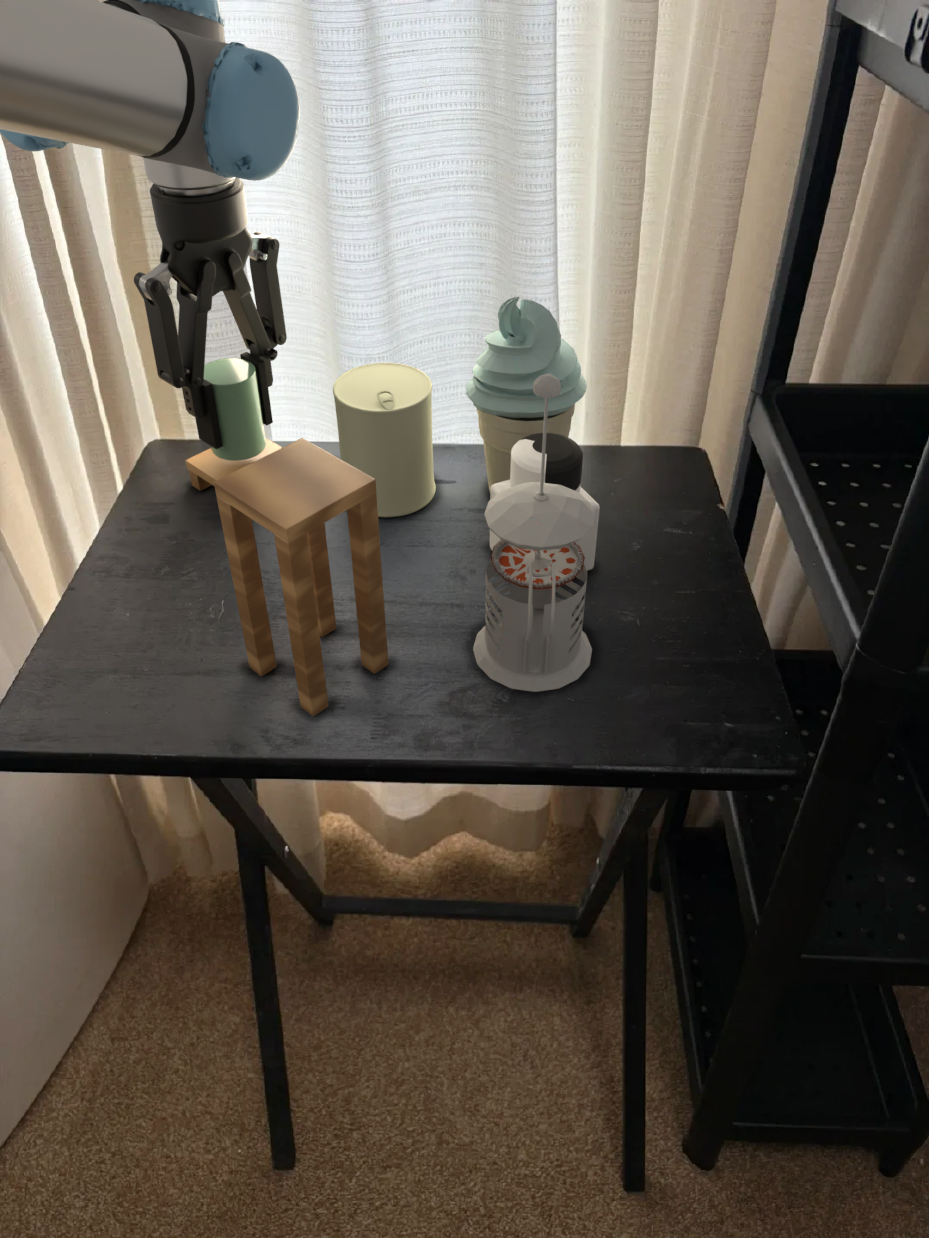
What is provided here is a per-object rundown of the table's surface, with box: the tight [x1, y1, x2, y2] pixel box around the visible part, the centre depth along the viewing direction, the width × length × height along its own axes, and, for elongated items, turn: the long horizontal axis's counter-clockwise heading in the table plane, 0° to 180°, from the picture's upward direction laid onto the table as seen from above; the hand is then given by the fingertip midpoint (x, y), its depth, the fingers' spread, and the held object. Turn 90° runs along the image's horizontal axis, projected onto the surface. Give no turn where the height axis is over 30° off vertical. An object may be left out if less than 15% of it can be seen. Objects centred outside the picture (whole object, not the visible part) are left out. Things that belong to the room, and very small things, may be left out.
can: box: [332, 362, 437, 518], centre depth 99 cm, size 9×9×12 cm
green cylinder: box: [204, 357, 266, 461], centre depth 98 cm, size 5×5×8 cm
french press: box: [472, 373, 595, 693], centre depth 77 cm, size 10×12×25 cm
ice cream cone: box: [465, 296, 588, 492], centre depth 97 cm, size 10×11×20 cm
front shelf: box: [213, 437, 389, 717], centre depth 79 cm, size 8×8×18 cm
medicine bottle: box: [489, 433, 601, 572], centre depth 91 cm, size 7×7×12 cm
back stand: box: [184, 437, 283, 492], centre depth 103 cm, size 8×8×3 cm
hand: (236, 430), depth 100 cm, fingers closed on green cylinder, 5 cm apart
